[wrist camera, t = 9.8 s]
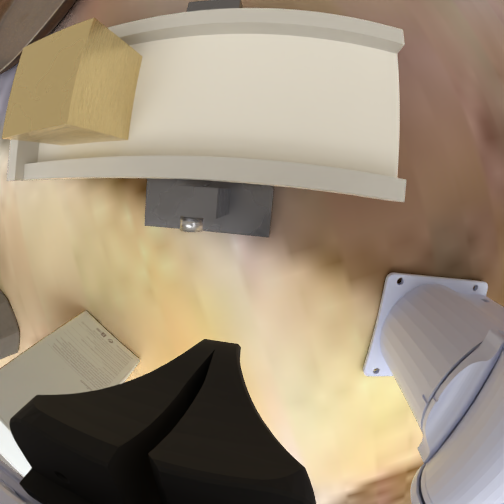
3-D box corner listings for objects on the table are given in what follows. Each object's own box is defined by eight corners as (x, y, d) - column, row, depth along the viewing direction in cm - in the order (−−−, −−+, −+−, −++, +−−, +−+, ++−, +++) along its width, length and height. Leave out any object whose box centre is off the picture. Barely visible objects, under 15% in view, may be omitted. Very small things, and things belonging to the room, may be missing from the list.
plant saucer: (-29, 100, 19) (-46, 98, 16) (21, -21, 15) (8, -28, 11) (72, 61, 17) (49, 50, 14) (136, -73, 13) (125, -88, 10)
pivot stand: (286, 23, 15) (286, -13, 11) (269, 235, 18) (265, 248, 14) (176, 26, 16) (154, -5, 12) (151, 223, 19) (117, 232, 15)
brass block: (142, 56, 12) (94, 17, 8) (128, 140, 14) (66, 124, 9) (76, 70, 13) (23, 47, 8) (62, 145, 14) (2, 138, 9)
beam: (389, 48, 12) (408, 22, 9) (386, 200, 14) (411, 202, 11) (58, 62, 14) (31, 50, 11) (39, 180, 16) (6, 180, 13)
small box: (86, 307, 21) (-28, 384, 8) (142, 359, 22) (53, 470, 9) (61, 359, 23) (-22, 430, 10) (108, 402, 23) (39, 491, 11)
